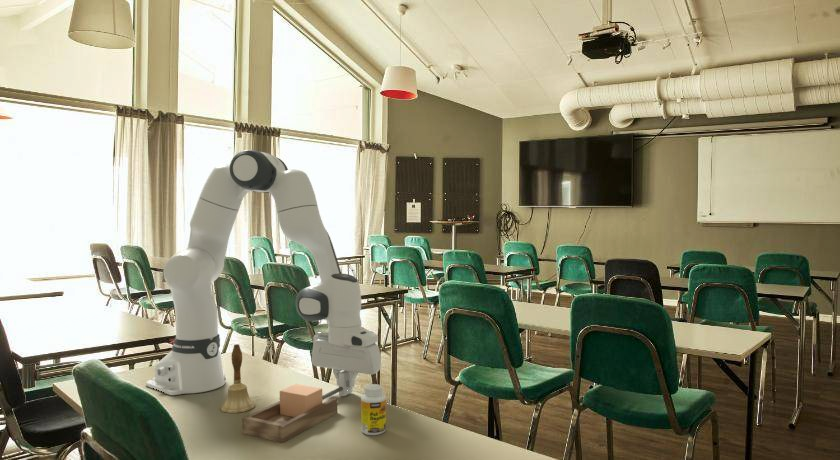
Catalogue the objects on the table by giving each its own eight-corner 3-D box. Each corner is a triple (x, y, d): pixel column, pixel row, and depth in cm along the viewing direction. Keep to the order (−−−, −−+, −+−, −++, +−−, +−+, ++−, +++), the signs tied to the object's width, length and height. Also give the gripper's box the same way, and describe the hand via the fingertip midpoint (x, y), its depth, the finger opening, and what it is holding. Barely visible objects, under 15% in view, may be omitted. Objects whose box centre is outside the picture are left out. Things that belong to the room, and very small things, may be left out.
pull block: (280, 417, 138) (279, 390, 138) (337, 389, 159) (337, 366, 159) (306, 423, 135) (306, 395, 134) (362, 393, 155) (362, 369, 155)
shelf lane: (242, 433, 130) (242, 417, 130) (299, 405, 148) (299, 391, 147) (282, 442, 125) (282, 426, 124) (337, 412, 142) (337, 398, 142)
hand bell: (214, 407, 147) (213, 345, 146) (245, 399, 152) (243, 339, 152) (230, 416, 141) (229, 350, 140) (261, 407, 147) (260, 344, 146)
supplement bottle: (368, 438, 127) (368, 392, 126) (357, 430, 131) (356, 385, 131) (390, 432, 130) (390, 387, 129) (378, 424, 134) (378, 381, 134)
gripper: (306, 333, 157) (307, 384, 157) (370, 341, 147) (371, 394, 148) (320, 329, 162) (321, 377, 163) (383, 336, 153) (383, 387, 154)
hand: (345, 386), depth 155 cm, fingers closed on pull block, 2 cm apart
